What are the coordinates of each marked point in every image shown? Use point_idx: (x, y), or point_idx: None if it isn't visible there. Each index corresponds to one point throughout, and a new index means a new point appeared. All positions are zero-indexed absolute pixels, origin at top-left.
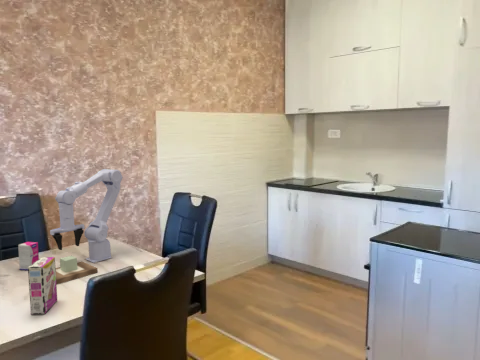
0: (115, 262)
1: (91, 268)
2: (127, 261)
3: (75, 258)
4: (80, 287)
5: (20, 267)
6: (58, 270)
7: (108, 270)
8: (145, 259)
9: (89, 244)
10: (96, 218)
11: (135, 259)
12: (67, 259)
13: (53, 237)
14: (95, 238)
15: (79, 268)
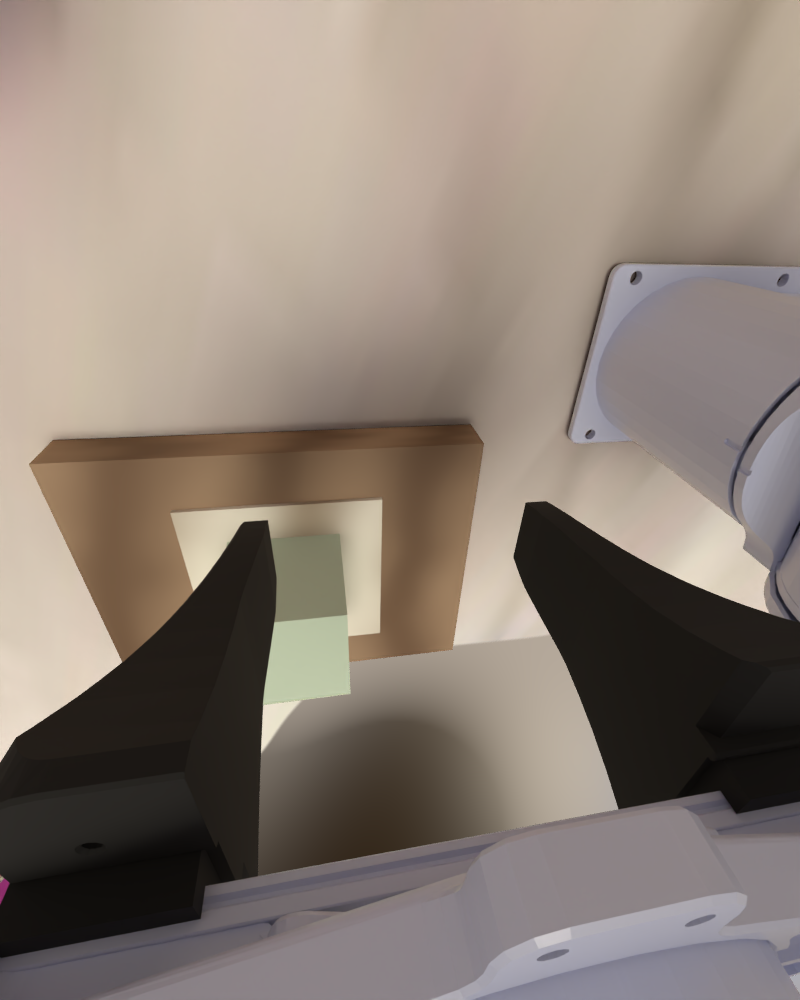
0: (644, 534)
1: (423, 636)
2: (688, 566)
3: (337, 693)
4: (262, 737)
5: None
6: (205, 547)
7: (506, 628)
8: (753, 599)
9: (719, 444)
10: None
11: (739, 565)
12: (264, 690)
13: (81, 711)
14: (786, 591)
15: (361, 603)
